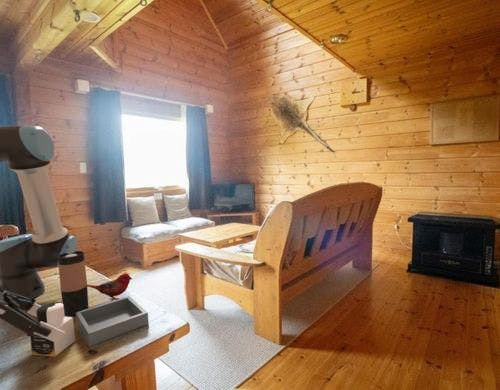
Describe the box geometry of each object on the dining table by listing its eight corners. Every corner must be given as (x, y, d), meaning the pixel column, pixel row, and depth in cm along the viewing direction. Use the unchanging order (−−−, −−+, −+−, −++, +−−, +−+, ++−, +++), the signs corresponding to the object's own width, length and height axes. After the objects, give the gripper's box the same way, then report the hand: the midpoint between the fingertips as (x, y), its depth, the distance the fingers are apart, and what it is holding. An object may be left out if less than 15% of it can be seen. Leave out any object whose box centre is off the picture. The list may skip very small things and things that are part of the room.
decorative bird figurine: (132, 301, 108) (130, 274, 107) (83, 302, 108) (81, 276, 107) (135, 297, 110) (133, 271, 109) (88, 299, 111) (85, 273, 110)
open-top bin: (77, 326, 92) (75, 312, 91) (130, 308, 102) (129, 296, 102) (90, 349, 80) (88, 333, 79) (148, 326, 90) (147, 312, 90)
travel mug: (77, 318, 97) (71, 258, 95) (57, 316, 98) (51, 257, 96) (94, 307, 104) (89, 251, 102) (75, 305, 106) (70, 250, 104)
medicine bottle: (31, 354, 78) (26, 311, 77) (53, 339, 85) (49, 298, 84) (55, 357, 77) (50, 312, 76) (75, 341, 84) (71, 300, 83)
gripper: (-36, 288, 78) (40, 322, 89) (-46, 325, 59) (52, 362, 70) (-12, 264, 81) (59, 299, 92) (-13, 291, 62) (76, 332, 73)
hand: (56, 327), depth 81 cm, fingers open, 13 cm apart
